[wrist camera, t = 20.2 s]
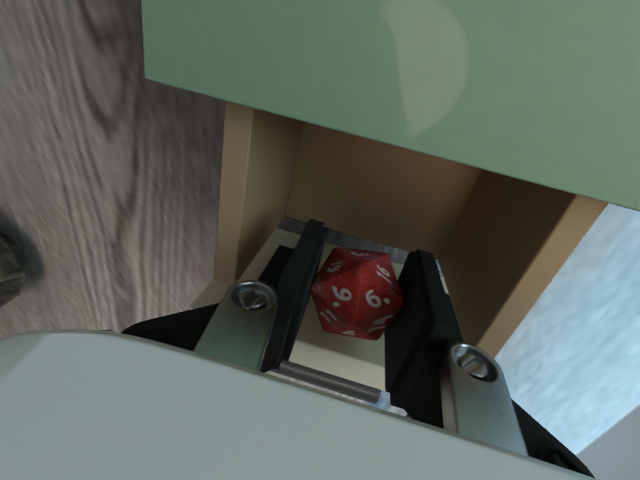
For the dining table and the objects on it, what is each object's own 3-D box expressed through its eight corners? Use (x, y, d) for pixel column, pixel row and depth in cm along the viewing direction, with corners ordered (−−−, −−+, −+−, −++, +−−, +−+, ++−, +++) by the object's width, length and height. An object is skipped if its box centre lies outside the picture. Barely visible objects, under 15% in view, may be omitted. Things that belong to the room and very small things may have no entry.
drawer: (416, 343, 20) (434, 478, 13) (250, 293, 21) (185, 397, 14) (605, -10, 11) (961, -162, 4) (305, -80, 12) (198, -309, 5)
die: (377, 311, 12) (376, 374, 10) (308, 281, 12) (288, 335, 10) (415, 254, 11) (426, 309, 8) (337, 220, 11) (323, 264, 8)
